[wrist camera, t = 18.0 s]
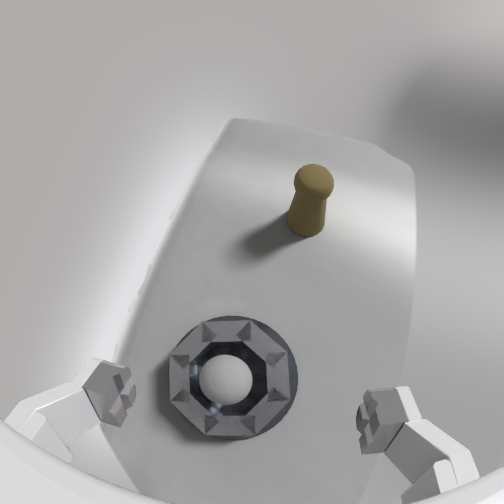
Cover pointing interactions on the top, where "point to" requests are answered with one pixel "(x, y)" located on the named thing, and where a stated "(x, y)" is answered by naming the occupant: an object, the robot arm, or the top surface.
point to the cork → (310, 200)
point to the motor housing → (260, 364)
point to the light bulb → (225, 379)
